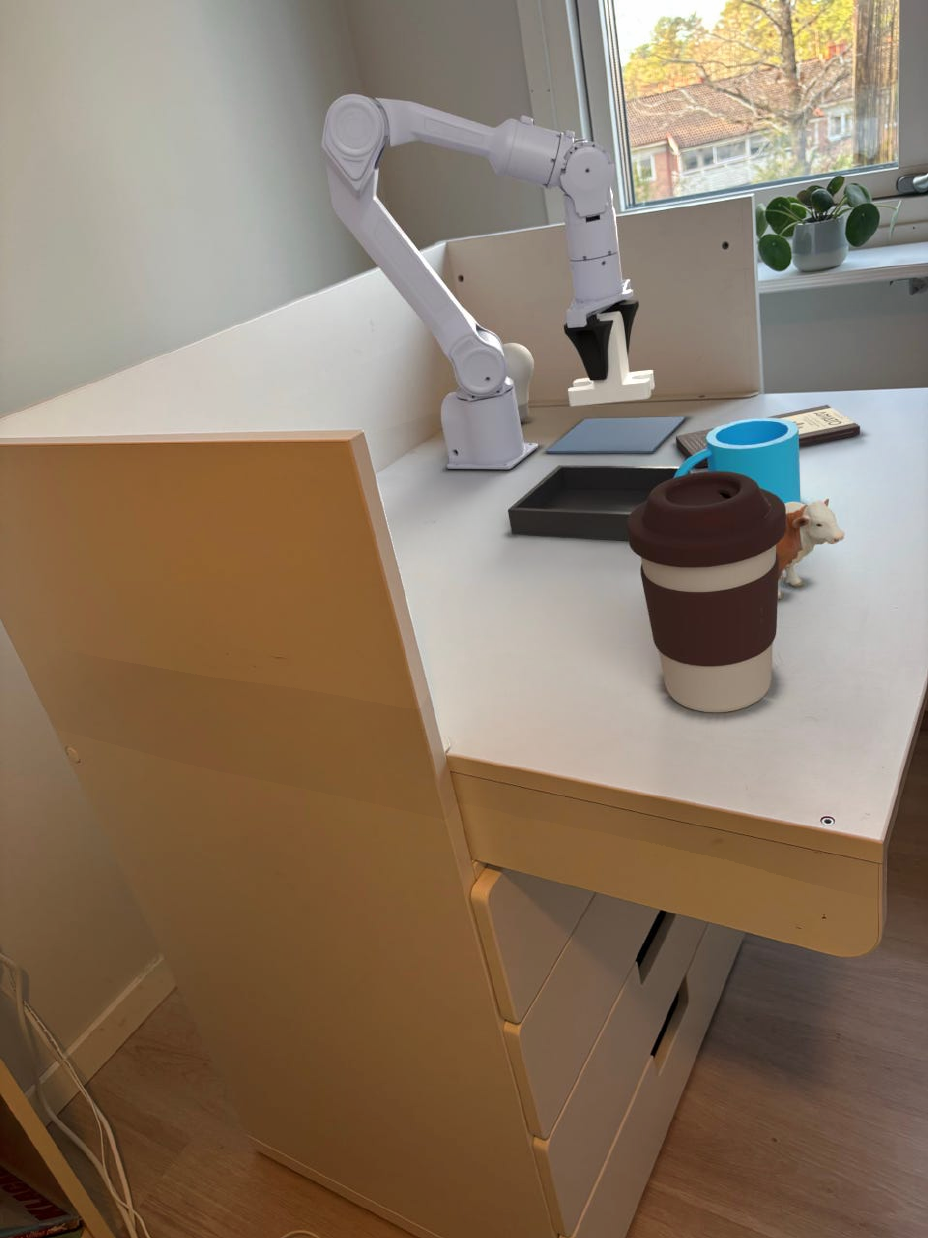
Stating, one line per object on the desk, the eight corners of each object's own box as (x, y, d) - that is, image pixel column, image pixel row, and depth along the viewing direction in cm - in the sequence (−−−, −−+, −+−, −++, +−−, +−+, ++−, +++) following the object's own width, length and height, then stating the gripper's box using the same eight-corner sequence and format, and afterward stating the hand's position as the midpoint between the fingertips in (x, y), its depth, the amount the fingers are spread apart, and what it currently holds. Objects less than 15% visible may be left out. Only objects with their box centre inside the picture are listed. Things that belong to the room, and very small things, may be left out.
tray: (512, 534, 97) (507, 509, 95) (562, 488, 105) (558, 465, 104) (650, 542, 88) (647, 515, 87) (692, 491, 97) (690, 466, 96)
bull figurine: (842, 609, 71) (841, 512, 68) (671, 600, 78) (661, 511, 74) (850, 582, 75) (849, 488, 71) (684, 576, 81) (676, 489, 77)
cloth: (546, 453, 117) (546, 450, 117) (585, 420, 125) (585, 418, 125) (652, 453, 109) (651, 450, 109) (685, 418, 118) (685, 416, 118)
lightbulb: (513, 432, 127) (499, 352, 122) (492, 424, 132) (477, 347, 127) (550, 418, 129) (538, 339, 124) (528, 411, 134) (515, 335, 129)
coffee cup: (631, 720, 64) (605, 523, 57) (664, 646, 72) (644, 463, 65) (781, 733, 60) (772, 521, 53) (800, 652, 67) (794, 457, 60)
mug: (782, 490, 93) (779, 411, 89) (814, 520, 86) (813, 436, 82) (664, 515, 93) (656, 437, 89) (686, 547, 86) (678, 464, 82)
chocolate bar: (675, 435, 110) (827, 404, 109) (676, 443, 110) (827, 412, 109) (696, 459, 102) (860, 426, 101) (696, 467, 102) (859, 434, 101)
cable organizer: (649, 398, 111) (640, 313, 106) (568, 406, 115) (556, 324, 110) (655, 385, 115) (647, 303, 111) (577, 393, 119) (566, 314, 114)
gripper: (601, 265, 100) (616, 389, 106) (649, 238, 110) (660, 352, 117) (543, 272, 104) (560, 391, 110) (595, 245, 114) (608, 355, 120)
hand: (608, 371), depth 114 cm, fingers closed on cable organizer, 6 cm apart
